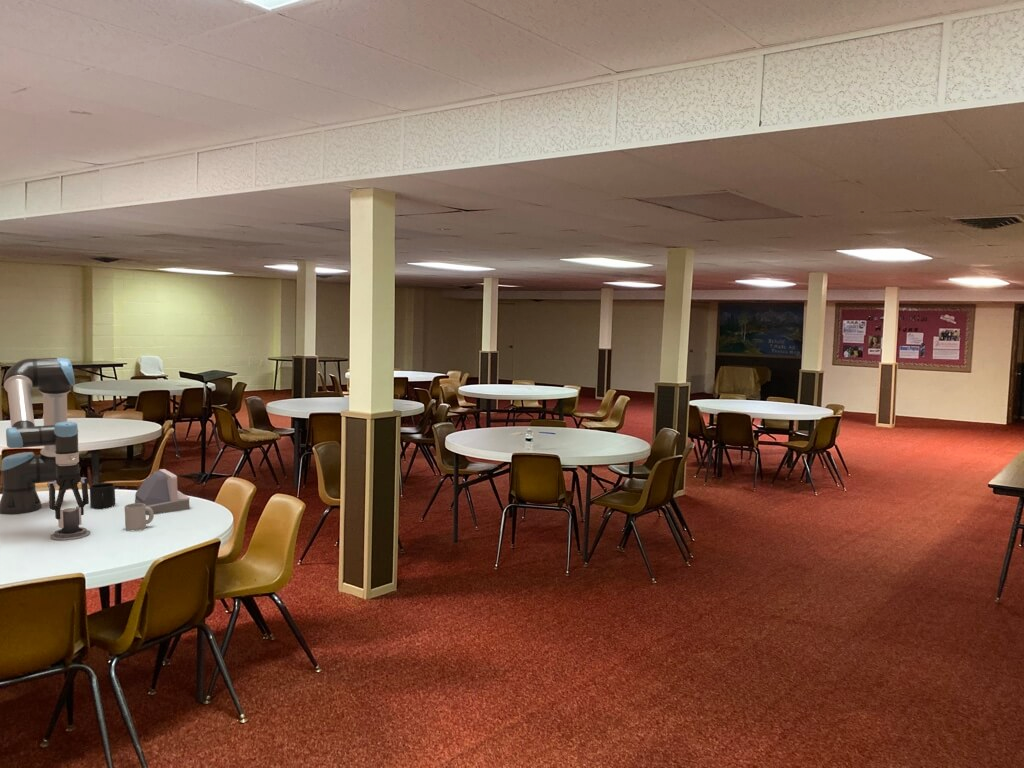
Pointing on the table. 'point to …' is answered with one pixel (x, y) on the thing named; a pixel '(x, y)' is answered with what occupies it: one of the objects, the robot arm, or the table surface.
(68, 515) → the dark grey cylinder
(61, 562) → the table surface
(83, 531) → the ring
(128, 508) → the cup
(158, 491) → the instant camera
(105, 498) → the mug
